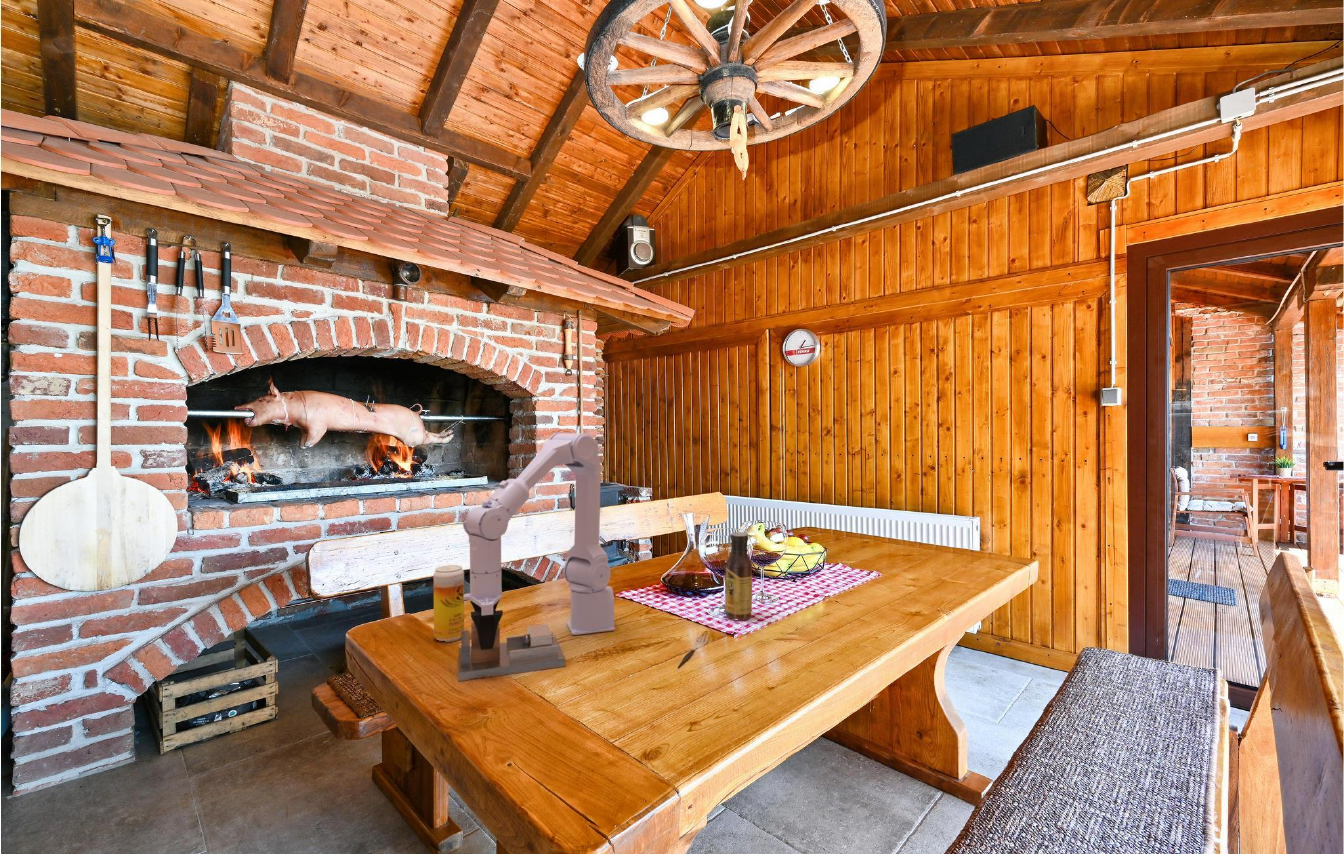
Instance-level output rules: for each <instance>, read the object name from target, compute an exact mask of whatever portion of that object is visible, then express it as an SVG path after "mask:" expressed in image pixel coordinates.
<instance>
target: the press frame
mask: <svg viewBox="0 0 1344 854" xmlns="http://www.w3.org/2000/svg"><path fill="white" fill-rule="evenodd" d="M550 631H551V633H552V646H544V647H536V648H529V647H525V648H524V643H523V635H524V634H519V635H512V636H506V642H500V660H495V661H487V662H479V663H472V655H471V643H470V642H471V639H470V638H471V636H470V635H471V633H470V632H471V631H470V630H464V631H461V638H460V647H459V648H458V668H457V670H458V671H457V672H458V673H457V674H458V675H457V676H458V677H457V679H458V682H462V681H468V680H469V681H470V680H476V679H475V678H478V679H483V678H482V677H485V678H488V677H487V676H492V677H497V676H506V675H510V674H511V675H512V674H520V673H521V674H522V673H527V672H533V671H540V670H541V671H542V670H547V669H548V670H549V669H555V668H561V667H562V668H563V667H566V658H565V655H564V653H563V651H562V648H561V646H560V643H559V642H558V638H557V636H554V635H553V631H552V630H550Z"/></svg>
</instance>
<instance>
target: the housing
mask: <svg viewBox="0 0 1344 854" xmlns="http://www.w3.org/2000/svg"><path fill="white" fill-rule="evenodd" d="M470 624H471V626H470V627H471V628H470V632H471V633H470V635H471V636H470V638H471V639H470V642H471V643H470V647H471V655H472V663H479V662H487V661H495V660H500V643H501V632H500V631H501V629H500V623H499V624H498V627H497V630H496V636H495V642H494V646H493V648H492V649H485V650H481V647H480V643H479V638H478V632H477V629H476V626H475V624H474V622H473V621H472V622H470Z"/></svg>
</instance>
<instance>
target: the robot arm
mask: <svg viewBox="0 0 1344 854" xmlns="http://www.w3.org/2000/svg"><path fill="white" fill-rule="evenodd" d="M562 465H564V466H566V467H567V468H568V469H569V470H570V471H571V472H572V473H573V474H574V475H575V496H574V497H575V499H574V500H575V502H574V504H575V505H574V507H575V508H574V509H575V510H574V540H573V541H574V543H573V545H572V547H570V548H569V550H568V551H567V554H566V561H565V563H564V566H563V577H564V579H565V581H566V582H567V583H568V588H570V620H568V621H566V625H567V628H568V630H569V632H570V633H571V635H572V636H578V635H585V634H586V635H587V634H593V633H594V634H595V633H601V632H602V633H603V632H610V631H616V627H615V596H614V591H613V590H614V589H613V588H612V586H611V585H610V586H609V585H608V584H609V581H610V579H611V567H610V565H609V556H608V553H607V552H606V551H605V550H604V549H603V547H602V546H601V545H600V521H601V519H600V517H601V475H602V472H601V471H602V467H601V462H600V458H599V442H598V441H597V440H596V438H594V437H593V436H592V435H591V434H589V433H587V432H581V433H578V432H577V433H571V432H570V433H569V432H566V433H565V432H560V431H559V432H555V433H553V434H552V435H551V436H550V437H548V439H547V440H545V441H544V442H543V445H542V448H541V450H540V451H539V452H538V453H537V454H536V456H535V457H534V458H533V459H532V460H531V461H530V462H529V464H528V465H526V467H525V468H524V469H523V471H521V473H520V474H519V475H518V476H517V477H516V478H507V479H506V480H502V481H500V483H499V487H498V488H497V489H496V490H495V491H494V492H493V493H492V494H491V495H490V496H489V497H488V498H485V499H484V500H483V501H482V505H481V506H477V507H476V506H475V507H474V508H472V509H471V510H470V511H469V512H468V513H467V515H466V517H465V521H464V522H462V527H463V529H464V530H463V531H464V532H465V533H466V534H467V536H468V543H469V592H470V593H469V592H468V593H464V601H469V602H470V604H471V606H472V607H473V611H470V617H471V620H472V622H474V624H475V626H476V629H477V632H478V638H479V643H480V647H481V650H485V649H492V648H493V646H494V642H495V636H496V630H497V627H498V624H499V625H500V621H501V619H502V617H503V615H504V612H503V610H497V608H498V605H499V602H500V601H501V599H502V598H503V591H502V536H503V535H505V534H506V532H507V529H508V526H509V521H510V520H511V518H512V517H513V516H514V515H515V514H516V513H517V512H518V511H519V510H520V509H521V507H523V505H525V504H526V502H527V501H528V500H529V499H530V490H531V489H532V488H533V487H534V486H535V485H536V484H538V482H540V481H541V480H542V479H543V478H544V477H545V476H546V475H547V474H548V473H549V472H550V471H551V470H553V468H555V467H557V466H562Z"/></svg>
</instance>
